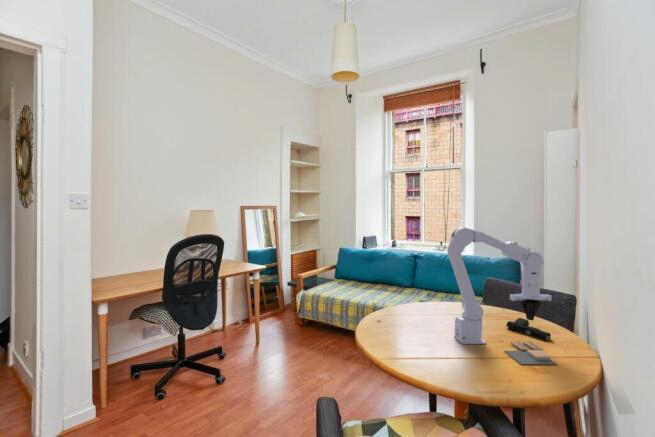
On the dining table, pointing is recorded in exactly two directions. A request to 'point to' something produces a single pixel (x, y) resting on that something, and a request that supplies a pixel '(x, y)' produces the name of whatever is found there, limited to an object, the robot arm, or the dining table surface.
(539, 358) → the tile
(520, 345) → the tile rack
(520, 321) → the handgun
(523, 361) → the mat
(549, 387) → the dining table surface
